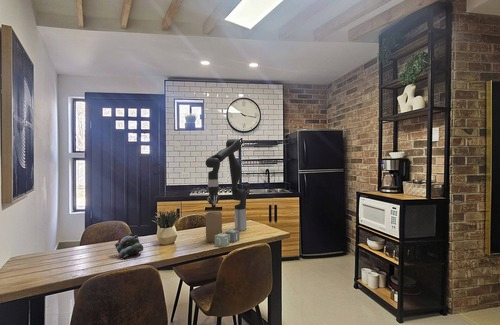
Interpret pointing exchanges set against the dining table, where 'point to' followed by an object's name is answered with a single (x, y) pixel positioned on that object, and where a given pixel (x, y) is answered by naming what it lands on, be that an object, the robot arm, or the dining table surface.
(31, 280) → the dining table surface
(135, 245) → the dark green lumpy piece
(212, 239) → the wooden block
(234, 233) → the slate numbered cube
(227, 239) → the sage numbered cube
